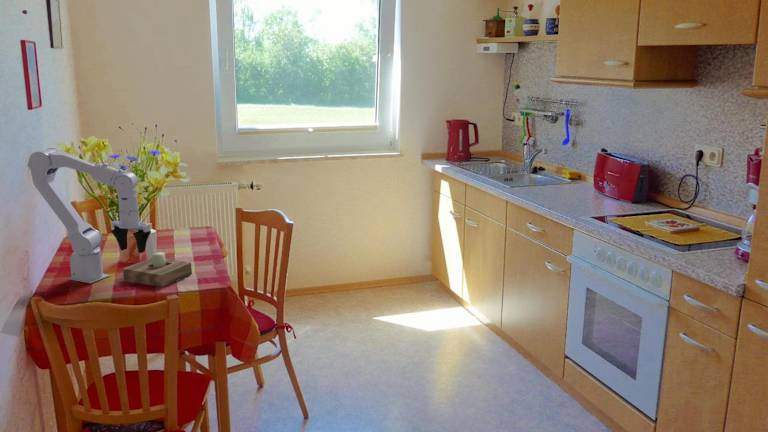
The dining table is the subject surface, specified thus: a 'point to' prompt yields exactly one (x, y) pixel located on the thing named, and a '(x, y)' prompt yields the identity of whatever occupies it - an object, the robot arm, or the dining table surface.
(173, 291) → the dining table surface
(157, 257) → the pale green block
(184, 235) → the dining table surface
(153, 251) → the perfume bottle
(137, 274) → the socket board
